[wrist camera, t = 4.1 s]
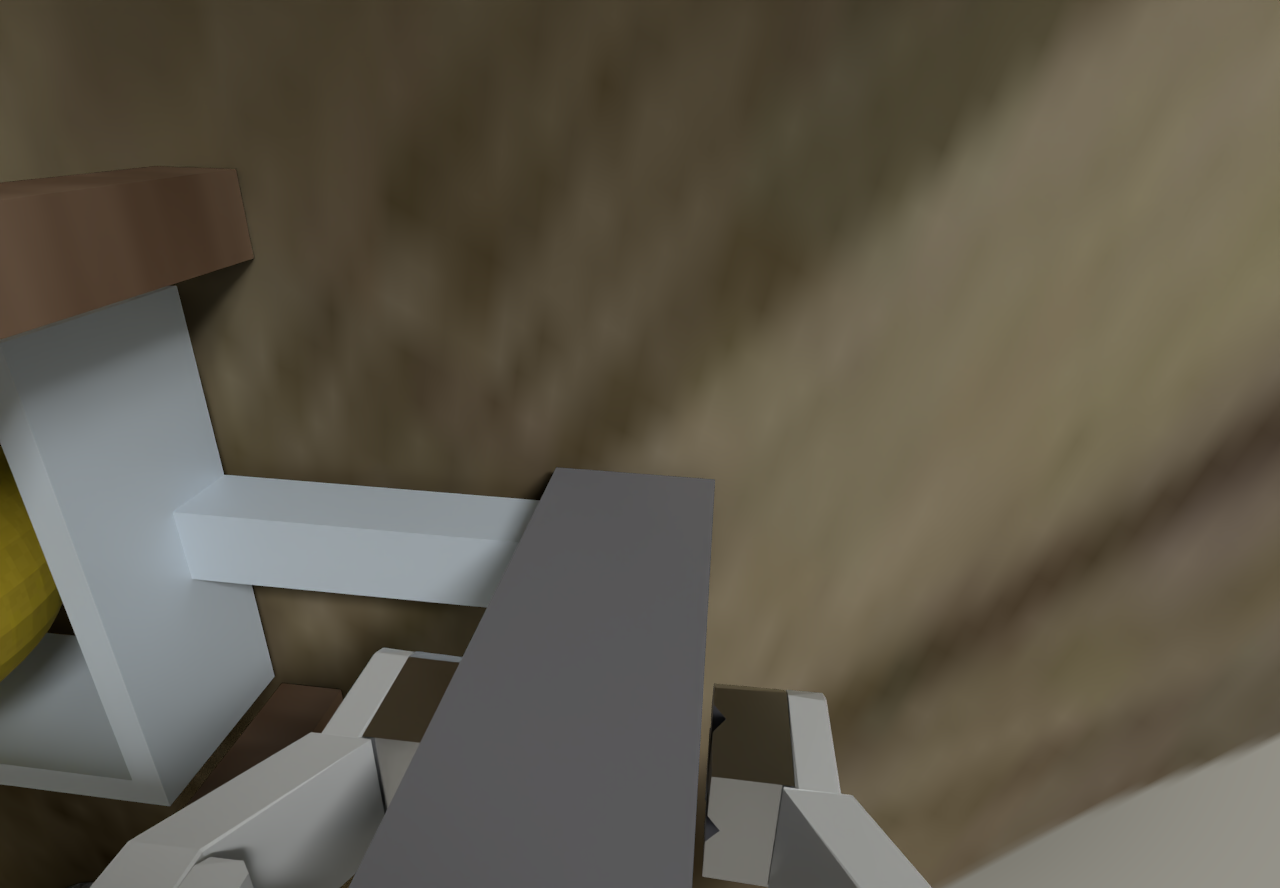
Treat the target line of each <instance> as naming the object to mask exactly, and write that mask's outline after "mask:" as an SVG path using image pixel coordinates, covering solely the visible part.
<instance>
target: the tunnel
mask: <svg viewBox="0 0 1280 888" xmlns="http://www.w3.org/2000/svg"><path fill="white" fill-rule="evenodd" d="M253 258H254V256H253V251H252V246H251V241H250V236H249V231H248V226H247V221H246V216H245V211H244V206H243V201H242V196H241V191H240V187H239V182H238V177H237V172H236V169H218V168H191V167H164V166H151V167H142V168H133V169H123V170H114V171H105V172H95V173H86V174H77V175H68V176H58V177H49V178H40V179H31V180H21V181H12V182H3V183H0V340H1V339H4V338H7V337H10V336H14V335H17V334H20V333H23V332H26V331H29V330H32V329H35V328H38V327H42V326H45V325H48V324H51V323H54V322H57V321H60V320H63V319H66V318H70V317H73V316H76V315H79V314H82V313H85V312H88V311H91V310H94V309H98V308H101V307H104V306H107V305H110V304H113V303H116V302H119V301H122V300H126V299H129V298H132V297H135V296H138V295H141V294H144V293H147V292H151V291H154V290H157V289H160V288H163V287H166V286H169V285H172V284H175V283H179V282H182V281H185V280H188V279H191V278H194V277H197V276H200V275H203V274H207V273H210V272H213V271H216V270H219V269H222V268H225V267H228V266H231V265H235V264H238V263H241V262H244V261H247V260H250V259H253ZM342 701H343V697H342V692H341V690H340V689H331V688H322V687H312V686H303V685H294V684H285V683H282V684H281V685H280V686H279V687H278V689H277V690H276V691H275V692H274V694H273V695H272V696H271V698H270V699H269V700H268V701H267V703H266V704H265V705H264V707H263V708H262V709H261V710H260V712H259V713H258V714H257V715H256V717H255V718H254V719H253V721H252V722H251V723H250V724H249V726H248V727H247V728H246V729H245V731H244V732H243V733H242V735H241V736H240V737H239V738H238V740H237V741H236V742H235V743H234V745H233V746H232V747H231V749H230V750H229V751H228V752H227V754H226V755H225V756H224V758H223V759H222V760H221V761H220V763H219V764H218V765H217V766H216V768H215V769H214V770H213V772H212V773H211V774H210V775H209V777H208V778H207V779H206V780H205V782H204V783H203V784H202V786H201V787H200V788H199V789H198V791H197V792H196V793H195V795H194V796H193V797H192V798H191V800H190V801H189V802H188V803H187V805H186V806H185V807H187V806H188V805H190V804H192V803H193V802H195V801H197V800H198V799H200V798H202V797H203V796H205V795H207V794H208V793H210V792H212V791H213V790H215V789H217V788H218V787H220V786H222V785H223V784H225V783H227V782H228V781H230V780H232V779H233V778H235V777H237V776H238V775H240V774H242V773H243V772H245V771H247V770H249V769H250V768H252V767H254V766H255V765H257V764H259V763H260V762H262V761H264V760H265V759H267V758H269V757H270V756H272V755H274V754H275V753H277V752H279V751H280V750H282V749H284V748H285V747H287V746H289V745H290V744H292V743H294V742H295V741H297V740H299V739H300V738H302V737H304V736H305V735H307V734H309V733H310V732H314V733H322V731H323V730H324V728H325V727H326V725H327V724H328V722H329V721H330V719H331V718H332V716H333V715H334V713H335V712H336V710H337V709H338V707H339V706H340V704H341V703H342ZM185 807H184V808H185Z"/></svg>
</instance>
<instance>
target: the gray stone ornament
mask: <svg viewBox="0 0 1280 888" xmlns="http://www.w3.org/2000/svg"><path fill="white" fill-rule="evenodd" d="M93 883H94V882H89V883H79V884H76V885H73V886H70V887H67V888H90V887H91V885H92V884H93Z"/></svg>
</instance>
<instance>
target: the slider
mask: <svg viewBox="0 0 1280 888" xmlns="http://www.w3.org/2000/svg"><path fill="white" fill-rule="evenodd" d="M0 444H1V446H2V449H3V451H4V454H5V456H6V459H7V461H8V464H9V467H10V469H11V472H12V474H13V477H14V479H15V482H16V484H17V487H18V490H19V492H20V495H21V497H22V500H23V502H24V505H25V507H26V510H27V513H28V515H29V518H30V520H31V523H32V525H33V528H34V530H35V533H36V536H37V538H38V541H39V543H40V546H41V548H42V551H43V553H44V556H45V558H46V561H47V564H48V566H49V569H50V571H51V574H52V576H53V579H54V581H55V584H56V587H57V589H58V592H59V594H60V597H61V599H62V602H63V604H64V607H65V610H66V612H67V615H68V617H69V620H70V622H71V625H72V627H73V630H74V633H75V635H76V636H72V635H63V634H53V633H46V634H45V636H44V637H43V638H42V640H41V641H40V642H39V644H38V645H37V646H36V647H35V648H34V649H33V651H32V652H31V653H30V654H29V655H28V656H27V657H26V658H25V659H24V660H23V661H22V662H21V663H20V664H19V665H18V666H17V667H16V668H15V669H14V670H13V671H12V672H11V673H10V674H9V675H8V676H7V677H6V678H4V679H3V680H2V681H1V682H0V784H2V785H10V786H17V787H25V788H33V789H40V790H48V791H56V792H63V793H71V794H79V795H86V796H94V797H102V798H109V799H117V800H125V801H133V802H140V803H148V804H156V805H163V806H171V805H172V803H173V802H174V801H175V800H176V798H177V797H178V796H179V795H180V793H181V792H182V791H183V790H184V788H185V787H186V786H187V785H188V783H189V782H190V781H191V780H192V779H193V777H194V776H195V775H196V774H197V772H198V771H199V770H200V769H201V767H202V766H203V765H204V764H205V762H206V761H207V760H208V759H209V757H210V756H211V755H212V754H213V752H214V751H215V750H216V749H217V747H218V746H219V745H220V744H221V743H222V741H223V740H224V739H225V738H226V736H227V735H228V734H229V733H230V731H231V730H232V729H233V728H234V726H235V725H236V724H237V723H238V721H239V720H240V719H241V718H242V716H243V715H244V714H245V713H246V711H247V710H248V709H249V708H250V706H251V705H252V704H253V703H254V702H255V700H256V699H257V698H258V697H259V695H260V694H261V693H262V692H263V690H264V689H265V688H266V687H267V685H268V684H269V683H270V682H271V680H272V679H273V678H274V677H275V676H274V672H273V668H272V664H271V660H270V656H269V652H268V648H267V644H266V640H265V636H264V632H263V628H262V624H261V620H260V616H259V612H258V608H257V604H256V600H255V596H254V592H253V588H252V585H259V586H269V587H279V588H290V589H300V590H310V591H321V592H331V593H341V594H352V595H362V596H372V597H383V598H393V599H403V600H414V601H424V602H434V603H445V604H455V605H465V606H476V607H486V608H487V609H486V611H485V613H484V615H483V617H482V619H481V621H480V623H479V625H478V627H477V629H476V631H475V633H474V635H473V637H472V639H471V641H470V643H469V645H468V647H467V649H466V651H465V653H464V655H463V657H462V659H461V661H460V663H459V665H458V667H457V669H456V671H455V673H454V675H453V677H452V679H451V681H450V683H449V685H448V687H447V689H446V691H445V694H444V696H443V698H442V700H441V702H440V704H439V706H438V708H437V710H436V712H435V714H434V716H433V718H432V720H431V722H430V724H429V726H428V728H427V730H426V732H425V734H424V736H423V738H422V740H421V742H420V744H419V746H418V748H417V750H416V752H415V754H414V756H413V758H412V760H411V762H410V764H409V766H408V768H407V770H406V772H405V774H404V776H403V778H402V780H401V783H400V785H399V787H398V789H397V791H396V793H395V795H394V797H393V799H392V801H391V803H390V805H389V807H388V809H387V811H386V813H385V815H384V817H383V819H382V821H381V823H380V825H379V827H378V829H377V831H376V833H375V835H374V837H373V839H372V841H371V843H370V845H369V847H368V849H367V851H366V853H365V855H364V857H363V859H362V861H361V863H360V865H359V867H358V870H357V872H356V874H355V876H354V878H353V880H352V882H351V884H350V886H349V888H692V879H693V861H694V843H695V826H696V808H697V790H698V772H699V755H700V737H701V719H702V701H703V684H704V666H705V648H706V631H707V613H708V595H709V577H710V560H711V542H712V524H713V506H714V489H715V480H714V479H701V478H688V477H675V476H662V475H649V474H636V473H623V472H610V471H597V470H583V469H570V468H557V467H556V469H555V471H554V473H553V475H552V477H551V479H550V481H549V483H548V485H547V487H546V489H545V491H544V493H543V495H542V497H541V499H540V500H529V499H516V498H504V497H492V496H479V495H467V494H455V493H443V492H430V491H418V490H406V489H393V488H381V487H369V486H357V485H344V484H332V483H320V482H307V481H295V480H283V479H270V478H258V477H246V476H234V475H224V472H223V468H222V464H221V460H220V456H219V452H218V448H217V444H216V440H215V436H214V432H213V428H212V425H211V421H210V417H209V413H208V409H207V405H206V401H205V397H204V393H203V389H202V385H201V381H200V377H199V373H198V369H197V365H196V361H195V357H194V353H193V349H192V345H191V341H190V337H189V333H188V329H187V325H186V321H185V317H184V313H183V309H182V305H181V301H180V297H179V293H178V289H177V286H170V285H169V286H166V287H163V288H160V289H157V290H154V291H151V292H147V293H144V294H141V295H138V296H135V297H132V298H129V299H126V300H122V301H119V302H116V303H113V304H110V305H107V306H104V307H101V308H98V309H94V310H91V311H88V312H85V313H82V314H79V315H76V316H73V317H70V318H66V319H63V320H60V321H57V322H54V323H51V324H48V325H45V326H42V327H38V328H35V329H32V330H29V331H26V332H23V333H20V334H17V335H14V336H10V337H7V338H4V339H1V340H0Z"/></svg>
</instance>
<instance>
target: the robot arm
mask: <svg viewBox="0 0 1280 888" xmlns="http://www.w3.org/2000/svg"><path fill="white" fill-rule="evenodd" d="M461 659H462V657H458V656H450V655H442V654H435V653H427V652H419V651H416V652H412V651H405V650H397V649H390V648H382V649H380V650H379V651H377V652H376V653H374V654H373V656H372V657H371V659H370V660H369V662H368V663H367V665H366V666H365V668H364V669H363V671H362V672H361V674H360V675H359V677H358V678H357V680H356V681H355V683H354V684H353V686H352V687H351V689H350V690H349V692H348V693H347V695H346V697H345V698H344V700H343V701H342V703H341V704H340V706H339V707H338V709H337V710H336V712H335V713H334V715H333V716H332V718H331V719H330V721H329V722H328V724H327V725H326V727H325V728H324V730H323V731H322V733H314V732H310V733H309V734H307V735H305V736H304V737H302V738H300V739H299V740H297V741H295V742H294V743H292V744H290V745H289V746H287V747H285V748H284V749H282V750H280V751H279V752H277V753H275V754H274V755H272V756H270V757H269V758H267V759H265V760H264V761H262V762H260V763H259V764H257V765H255V766H254V767H252V768H250V769H249V770H247V771H245V772H243V773H242V774H240V775H238V776H237V777H235V778H233V779H232V780H230V781H228V782H227V783H225V784H223V785H222V786H220V787H218V788H217V789H215V790H213V791H212V792H210V793H208V794H207V795H205V796H203V797H202V798H200V799H198V800H197V801H195V802H193V803H192V804H190V805H188V806H187V807H185V808H183V809H182V810H180V811H178V812H176V813H175V814H173V815H171V816H170V817H168V818H166V819H165V820H163V821H161V822H160V823H158V824H156V825H155V826H153V827H151V828H150V829H148V830H146V831H145V832H143V833H141V834H140V835H138V836H136V837H135V838H133V839H131V840H130V841H128V842H127V843H126V844H125V846H124V847H123V848H122V849H121V850H120V852H119V853H118V854H117V855H116V856H115V858H114V859H113V860H112V861H111V862H110V864H109V865H108V866H107V867H106V869H105V870H104V871H103V872H102V873H101V875H100V876H99V877H98V878H97V879H96V881H95V882H94V883H93V884H92V885H91V887H90V888H340V887H341V886H342V885H343V884H345V883H346V882H347V881H348V880H349V879H350V878H351V877H352V876H353V875H354V874H355V873H356V872H357V870H358V867H359V865H360V863H361V861H362V859H363V857H364V855H365V853H366V851H367V849H368V847H369V845H370V843H371V841H372V839H373V837H374V835H375V833H376V831H377V829H378V827H379V825H380V823H381V821H382V819H383V817H384V815H385V813H386V811H387V809H388V807H389V805H390V803H391V801H392V799H393V797H394V795H395V793H396V791H397V789H398V787H399V785H400V783H401V780H402V778H403V776H404V774H405V772H406V770H407V768H408V766H409V764H410V762H411V760H412V758H413V756H414V754H415V752H416V750H417V748H418V746H419V744H420V742H421V740H422V738H423V736H424V734H425V732H426V730H427V728H428V726H429V724H430V722H431V720H432V718H433V716H434V714H435V712H436V710H437V708H438V706H439V704H440V702H441V700H442V698H443V696H444V694H445V691H446V689H447V687H448V685H449V683H450V681H451V679H452V677H453V675H454V673H455V671H456V669H457V667H458V665H459V663H460V661H461ZM705 800H706V810H705V822H704V842H703V871H702V877H708V878H714V879H721V880H727V881H733V882H740V883H746V884H752V885H758V886H765V887H768V888H932V887H931V886H930V885H929V884H928V882H927V881H926V880H925V879H924V878H923V877H922V875H921V874H920V873H919V872H918V871H917V870H916V868H915V867H914V866H913V865H912V864H911V863H910V862H909V860H908V859H907V858H906V857H905V856H904V855H903V853H902V852H901V851H900V850H899V849H898V848H897V846H896V845H895V844H894V843H893V842H892V841H891V839H890V838H889V837H888V836H887V835H886V834H885V832H884V831H883V830H882V829H881V828H880V827H879V825H878V824H877V823H876V822H875V821H874V820H873V818H872V817H871V816H870V815H869V814H868V813H867V811H866V810H865V809H864V808H863V807H862V806H861V804H860V803H859V802H858V801H857V800H856V799H855V798H854V796H853V795H847V794H841V791H840V784H839V778H838V771H837V765H836V759H835V752H834V746H833V739H832V733H831V727H830V720H829V714H828V707H827V701H826V698H825V696H824V695H823V693H816V692H805V691H794V690H786V691H784V690H779V689H768V688H758V687H747V686H737V685H726V684H716V683H714V688H713V698H712V712H711V728H710V732H709V747H708V759H707V774H706V795H705Z"/></svg>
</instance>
